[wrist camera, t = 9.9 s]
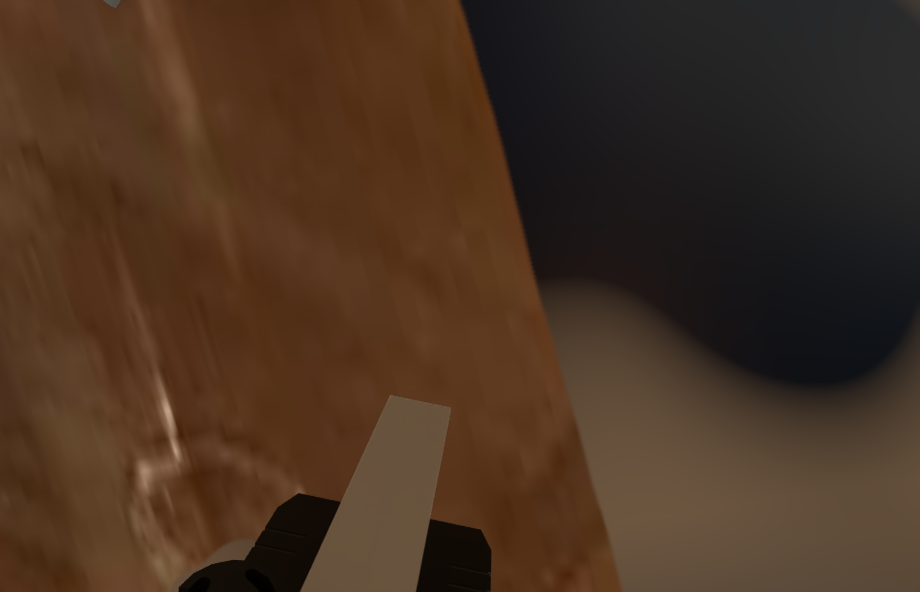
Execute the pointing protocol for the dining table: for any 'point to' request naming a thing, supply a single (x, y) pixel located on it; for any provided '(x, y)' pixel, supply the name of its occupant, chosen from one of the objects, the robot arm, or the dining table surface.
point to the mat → (112, 2)
